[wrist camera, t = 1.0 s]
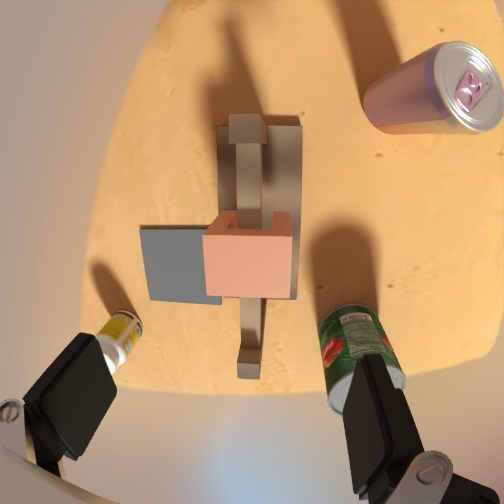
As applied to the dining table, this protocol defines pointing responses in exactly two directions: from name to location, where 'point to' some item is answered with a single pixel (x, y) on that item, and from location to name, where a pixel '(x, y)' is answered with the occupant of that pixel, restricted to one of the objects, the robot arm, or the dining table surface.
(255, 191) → the stand
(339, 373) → the canned tomato
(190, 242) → the mat
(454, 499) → the robot arm
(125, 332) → the supplement bottle
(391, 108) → the beverage can
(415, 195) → the dining table surface
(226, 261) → the c link
